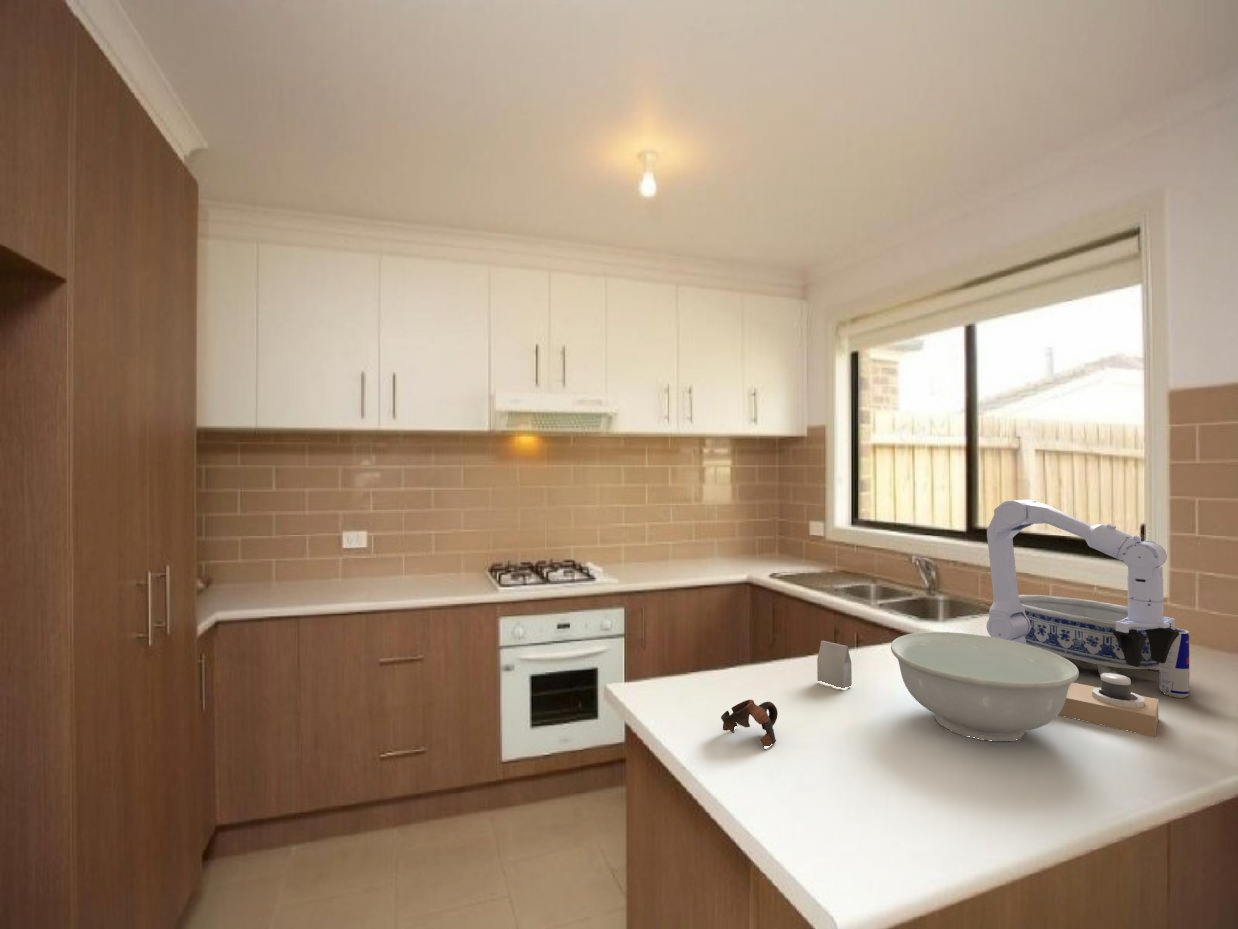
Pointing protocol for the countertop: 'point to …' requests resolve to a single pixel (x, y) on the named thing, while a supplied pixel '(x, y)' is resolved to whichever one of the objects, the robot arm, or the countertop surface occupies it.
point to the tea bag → (834, 665)
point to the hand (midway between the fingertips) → (1145, 663)
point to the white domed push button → (1116, 686)
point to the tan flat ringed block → (1111, 709)
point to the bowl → (984, 682)
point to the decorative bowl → (1080, 631)
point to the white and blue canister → (1176, 667)
